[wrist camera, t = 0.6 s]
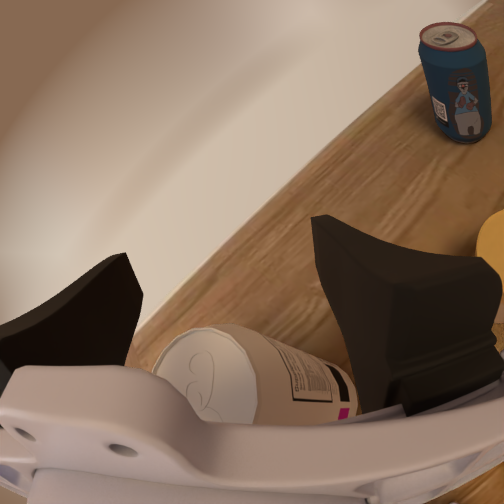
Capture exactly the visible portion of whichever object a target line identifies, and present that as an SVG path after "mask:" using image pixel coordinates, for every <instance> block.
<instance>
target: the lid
mask: <svg viewBox="0 0 504 504" xmlns="http://www.w3.org/2000/svg"><path fill="white" fill-rule="evenodd" d="M475 257H482V258H483V259H484V260H485V261H486V262H487V263H488V264H489V265H490V266H491V267H492V268H493V269H494V270H495V271H496V272H497V273H498V274H499V275H500V278H501V280H502V287H503V293H502V298H501V303H503V304H504V210H501V211H499V212H497V213H495V214H493V215H492V216H490V217H489V218H488V219H487V220H486V221H485V223H484V224H483V226H482V227H481V229H480V232H479V234H478V238H477V244H476V251H475Z"/></svg>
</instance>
